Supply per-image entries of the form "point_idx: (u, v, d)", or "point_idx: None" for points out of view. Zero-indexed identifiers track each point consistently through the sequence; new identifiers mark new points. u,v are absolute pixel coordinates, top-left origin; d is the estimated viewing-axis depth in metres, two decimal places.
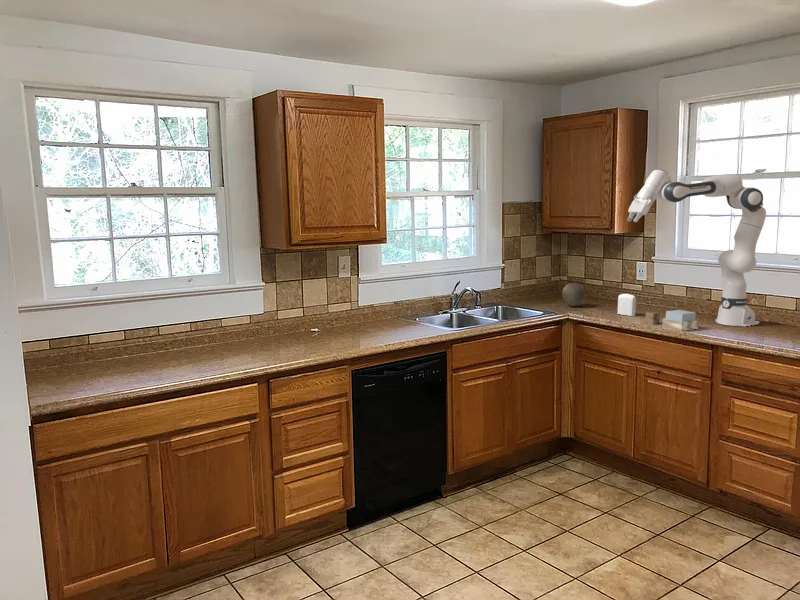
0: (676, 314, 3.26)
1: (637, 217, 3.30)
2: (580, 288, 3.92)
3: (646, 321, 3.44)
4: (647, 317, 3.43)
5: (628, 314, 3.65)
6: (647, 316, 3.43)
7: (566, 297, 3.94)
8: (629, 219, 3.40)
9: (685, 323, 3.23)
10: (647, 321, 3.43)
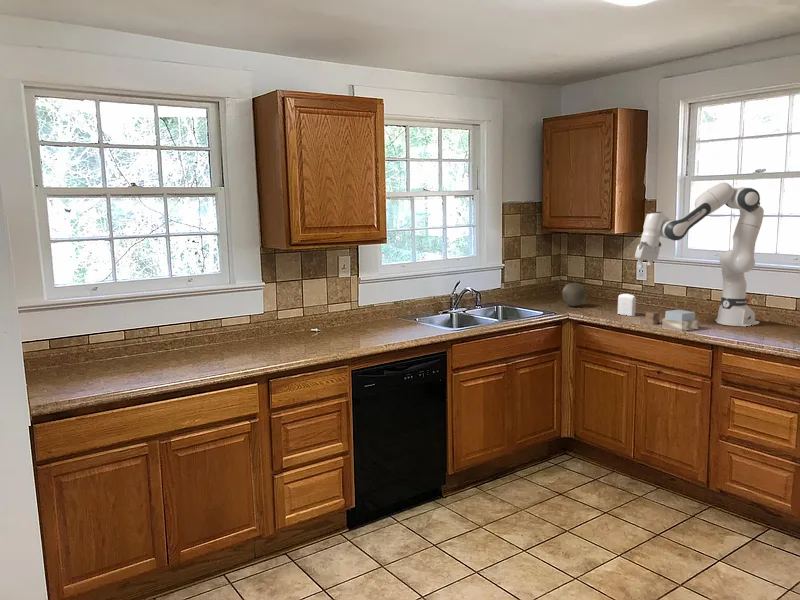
0: (676, 314, 3.26)
1: (639, 263, 3.35)
2: (580, 288, 3.92)
3: (646, 321, 3.44)
4: (647, 317, 3.43)
5: (628, 314, 3.65)
6: (647, 316, 3.43)
7: (566, 297, 3.94)
8: (647, 266, 3.42)
9: (685, 323, 3.23)
10: (647, 321, 3.43)
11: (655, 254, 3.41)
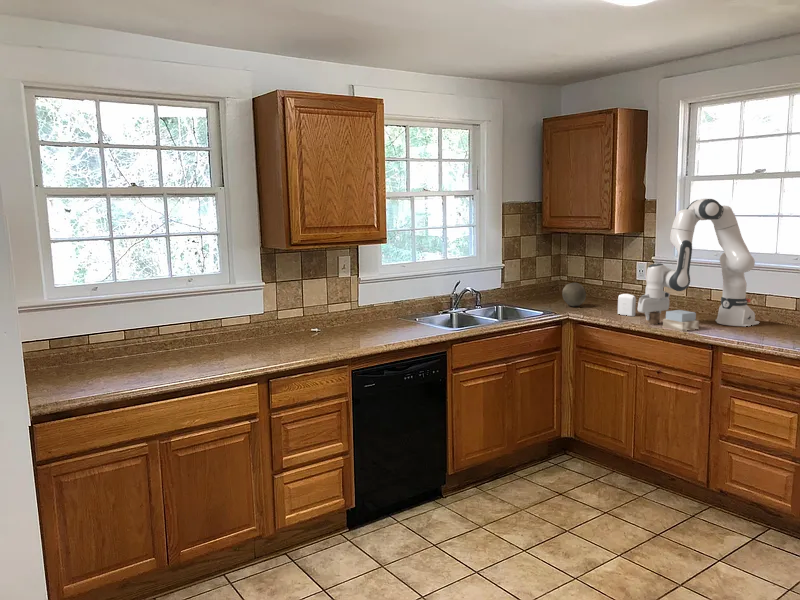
0: (676, 314, 3.26)
1: (646, 315, 3.41)
2: (580, 288, 3.92)
3: (646, 321, 3.44)
4: None
5: (628, 314, 3.65)
6: None
7: (566, 297, 3.94)
8: None
9: (686, 323, 3.23)
10: (647, 321, 3.43)
11: (664, 304, 3.44)
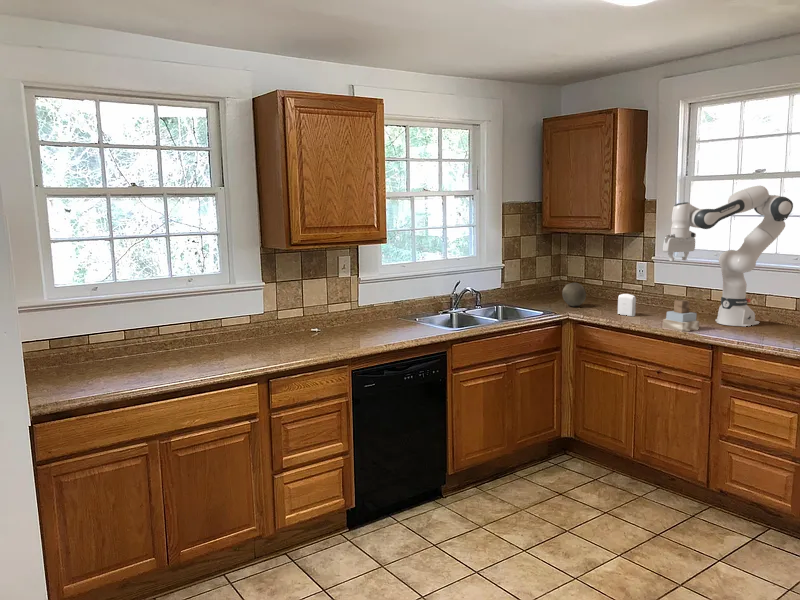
0: (677, 315, 3.25)
1: (670, 256, 3.32)
2: (580, 288, 3.92)
3: (675, 309, 3.29)
4: (676, 305, 3.28)
5: (628, 314, 3.65)
6: (676, 304, 3.28)
7: (566, 297, 3.94)
8: (683, 258, 3.37)
9: (686, 324, 3.22)
10: (676, 309, 3.28)
11: (690, 245, 3.35)
